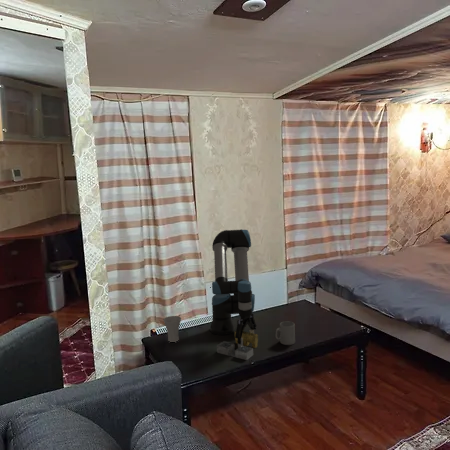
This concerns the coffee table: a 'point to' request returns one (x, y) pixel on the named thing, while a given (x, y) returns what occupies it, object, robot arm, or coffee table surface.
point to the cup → (172, 327)
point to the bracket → (230, 350)
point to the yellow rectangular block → (249, 339)
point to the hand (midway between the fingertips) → (246, 344)
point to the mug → (286, 333)
